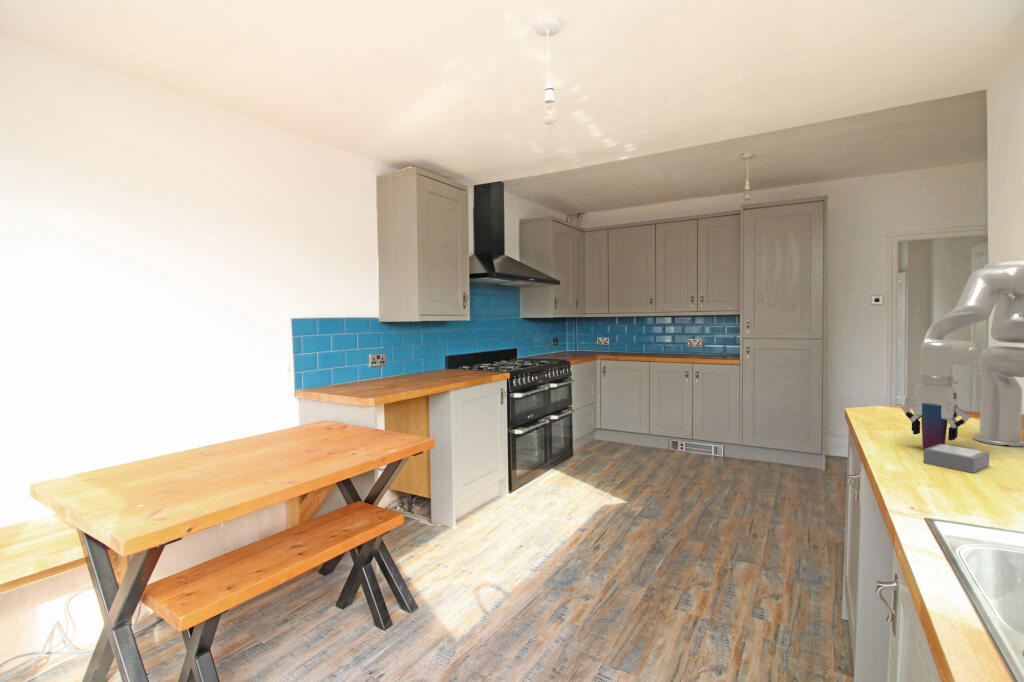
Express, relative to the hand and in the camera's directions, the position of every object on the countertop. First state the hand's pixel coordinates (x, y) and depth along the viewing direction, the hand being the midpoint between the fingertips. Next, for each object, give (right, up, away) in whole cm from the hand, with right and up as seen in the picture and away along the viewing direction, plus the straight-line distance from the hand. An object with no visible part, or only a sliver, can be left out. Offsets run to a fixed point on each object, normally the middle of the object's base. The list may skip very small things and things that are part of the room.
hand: (933, 436), depth 152 cm
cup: (0, -5, 0) cm, 5 cm away
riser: (-5, -5, -13) cm, 15 cm away
